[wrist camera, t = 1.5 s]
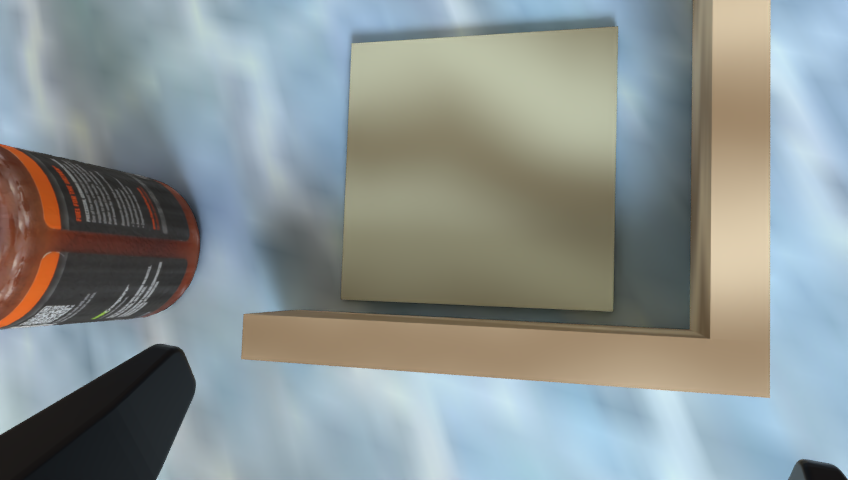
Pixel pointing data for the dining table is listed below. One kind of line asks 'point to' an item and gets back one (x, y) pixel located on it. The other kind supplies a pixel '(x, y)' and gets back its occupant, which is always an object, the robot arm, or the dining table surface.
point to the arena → (541, 212)
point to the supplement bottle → (88, 242)
